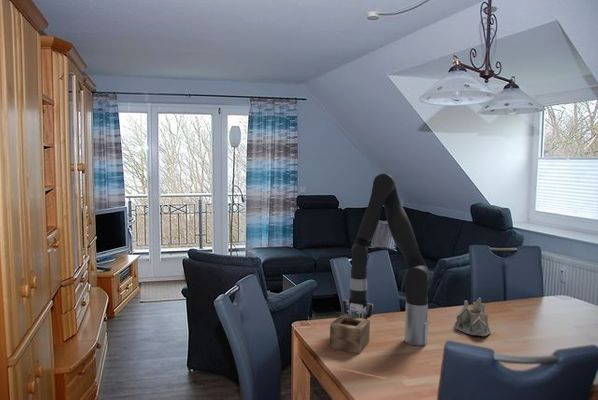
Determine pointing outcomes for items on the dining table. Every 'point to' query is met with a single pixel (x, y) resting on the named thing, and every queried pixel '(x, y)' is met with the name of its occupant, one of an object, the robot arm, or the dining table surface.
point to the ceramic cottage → (473, 319)
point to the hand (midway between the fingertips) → (357, 324)
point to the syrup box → (356, 310)
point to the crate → (349, 334)
